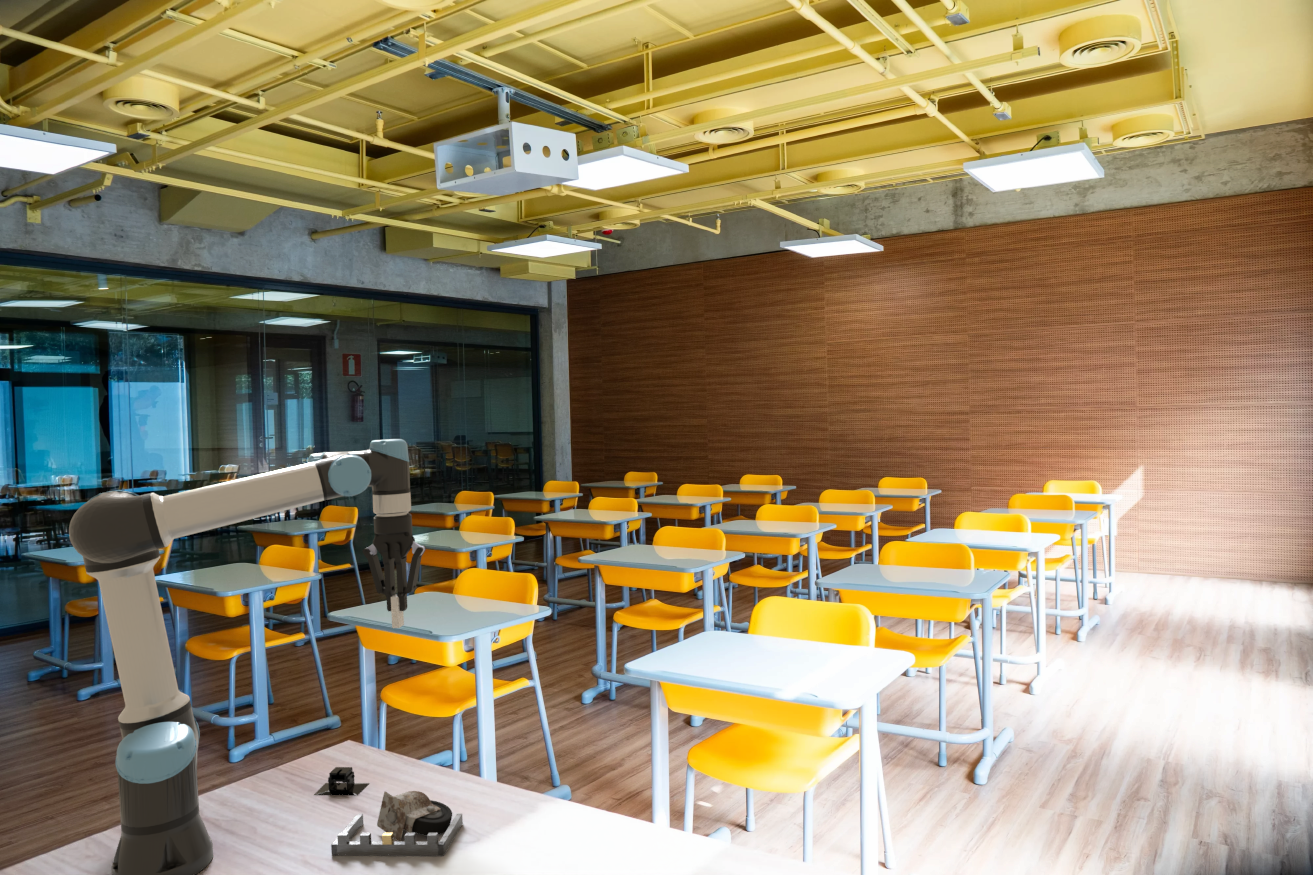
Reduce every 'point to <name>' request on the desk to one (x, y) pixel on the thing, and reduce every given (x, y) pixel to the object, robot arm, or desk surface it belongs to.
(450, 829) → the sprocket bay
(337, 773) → the black mounting bracket
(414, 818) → the caster wheel
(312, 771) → the desk surface
